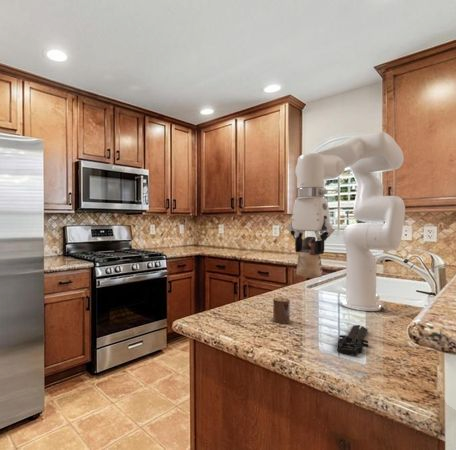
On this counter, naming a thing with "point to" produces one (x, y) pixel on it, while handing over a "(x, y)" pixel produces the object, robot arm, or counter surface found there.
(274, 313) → the glossy brown cylinder
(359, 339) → the dark flat slotted piece
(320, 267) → the figurine
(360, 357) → the counter surface
